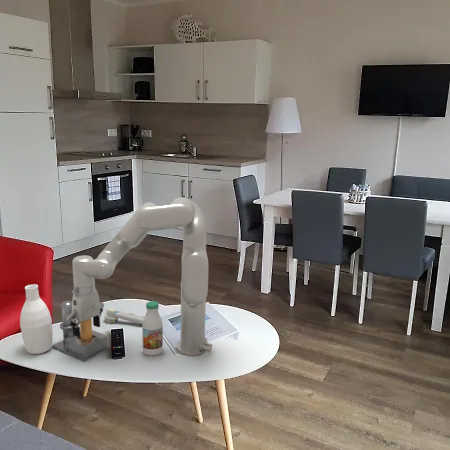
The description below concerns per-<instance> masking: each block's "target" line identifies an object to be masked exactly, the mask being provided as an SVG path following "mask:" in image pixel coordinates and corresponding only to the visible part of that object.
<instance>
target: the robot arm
mask: <svg viewBox="0 0 450 450" xmlns="http://www.w3.org/2000/svg"><path fill="white" fill-rule="evenodd" d="M206 225H207V223H206V219H205V216H204V213H203V211H202V210H201V209H200V207H199V205H197V204H196V203H195V202H194V201H192V200H191V199H188V198H187V197H183V196H181V197H177V198H175V199H174V200H172V202H171V203H170V204H166V205H158V204H156V203H154V202H151V201H147V202H144V203H143V204H141V205H140V206H139V207H138V208H137V209H136V211H135V212H134V213H133V214H132V215H131V217H130V218H129V219H128V220H127V221H126V223H124V225H123V226H122V227H121V228H120V229H119V230H118V232H117V233H116V234H115V236H114V237H113V238H112V239H111V240H110V242H109V243H108V244H107V245H106V246H105V247H104V248H103V249H102V251H101V252H100V253H99V255H98V256H97V257H96V258H95V259H94V258H93V257H92V256H90V255H85V254H84V255H78V256H75V257H73V259H72V279H73V290H72V291H71V293H72V299H71V301H72V313H71V314H70V315H69V316H68V317H67V318H66V320H67V322H68V324H70V325H71V326H73V335H74V336H77V337H80V322H83V321H86V320H88V319H90V318H91V319H92V325H93V326H94V327H97V328H100V327H101V319H100V318H101V316H102V313H103V312H104V307H105V303H103V302H101V301H100V297H99V293H98V290H97V289H96V282H95V279H101V280H102V279H103V280H104V279H108V278H110V277H111V276H112V275H113V274H114V270H115V268H116V267H117V265H118V264H119V262H120V261H121V260H122V258H123V257H124V256H125V255H127V253H128V252H129V251H130V250H131V249H134V248H136V247H137V246H138V245H140V244H141V242H142V241H143V240H144V239H145V238H146V236H148V234H149V233H150V232H151V231H163V230H171V229H179V228H182V231H183V232H182V235H183V236H182V239H183V241H182V243H183V244H182V252H181V253H182V255H181V280H180V337H179V338H180V340H179V341H178V342H177V343H176V347H177V348H176V350H178V351H179V352H178V351H177V352H178V353H180V354H181V355H184V356H193V357H195V356H200V355H203V354H204V353H206V352H209V353H211V351H212V348H213V344H212V343H209V342H208V338H207V337H206V312H207V311H206V309H207V308H206V304H207V303H206V302H207V297H208V291H209V259H208V254H207V226H206ZM72 318H73V321H72ZM75 322H77V323H75ZM179 348H180V349H179Z"/></svg>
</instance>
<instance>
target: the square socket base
mask: <svg viewBox="0 0 450 450" xmlns="http://www.w3.org/2000/svg"><path fill="white" fill-rule="evenodd" d="M60 304H61V318H62V321H61V323H60V325H59V328H60V330H62V337H63V340H60V341H58V342H56V343H54V344H52V346H51V348H52V349H54V350H56V351H59V352H61V353H63V354H66V355H68V356H70V357H72V358H74V359H76V360H79V361H81V362H83V363H85V362H87V361H89V360H90V359H93V358H95V357H96V356H98V355H101V354H102V353H103V352H105V351H107V350H110V349H111V345H110V344H108V335H107V334H104V333H101V332H99V331H96V330H94V329H92V339H91V340H89V341H87V342H84V341H82V340H81V334H80V337H77V336H74V335H73V326H71V325H70V324H68V322H67V320H66V318H67V317H68V316H69V315H70V314H71V313H72V300H71V299H70V300H69V299H67V300H64V301H62V302H61V303H60ZM72 321H73V318H72ZM75 323H77V321H76V322H75Z"/></svg>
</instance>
